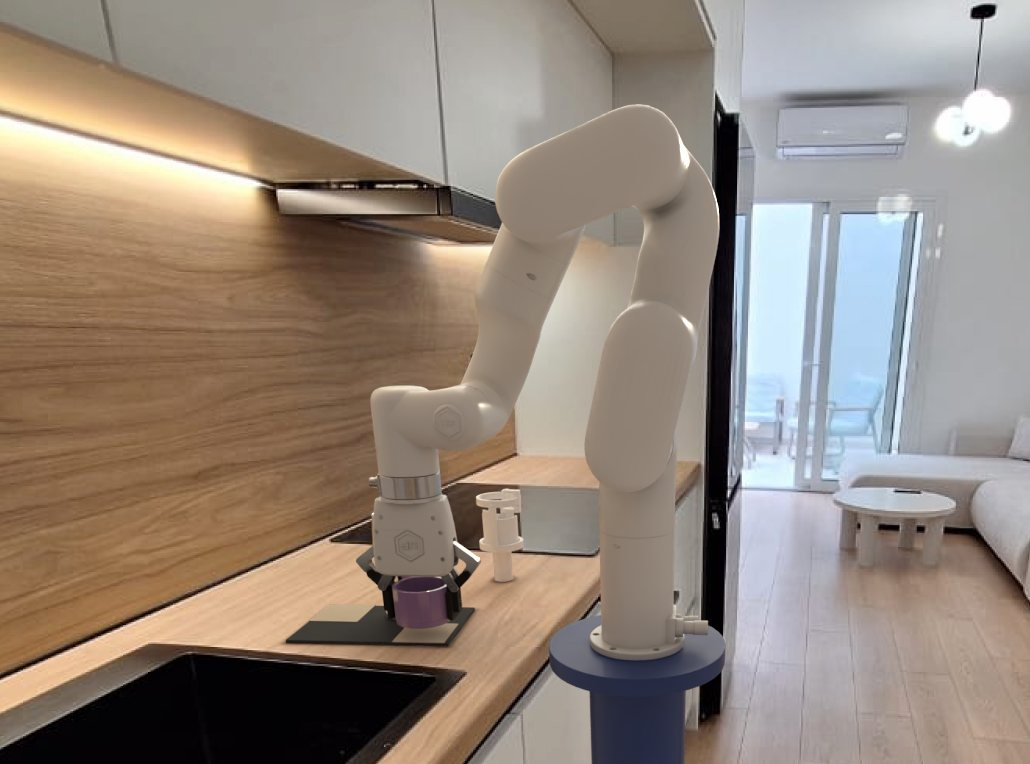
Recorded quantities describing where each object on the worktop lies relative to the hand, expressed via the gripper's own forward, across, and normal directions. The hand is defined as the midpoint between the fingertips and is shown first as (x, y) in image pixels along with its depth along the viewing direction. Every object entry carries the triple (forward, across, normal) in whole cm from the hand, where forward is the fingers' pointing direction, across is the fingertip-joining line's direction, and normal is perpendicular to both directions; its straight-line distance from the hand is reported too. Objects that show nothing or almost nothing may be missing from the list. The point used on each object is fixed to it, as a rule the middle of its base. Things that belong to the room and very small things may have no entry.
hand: (424, 615), depth 109 cm
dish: (0, 0, 0) cm, 0 cm away
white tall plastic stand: (+3, +5, +26) cm, 26 cm away
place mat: (+3, -7, +4) cm, 8 cm away
